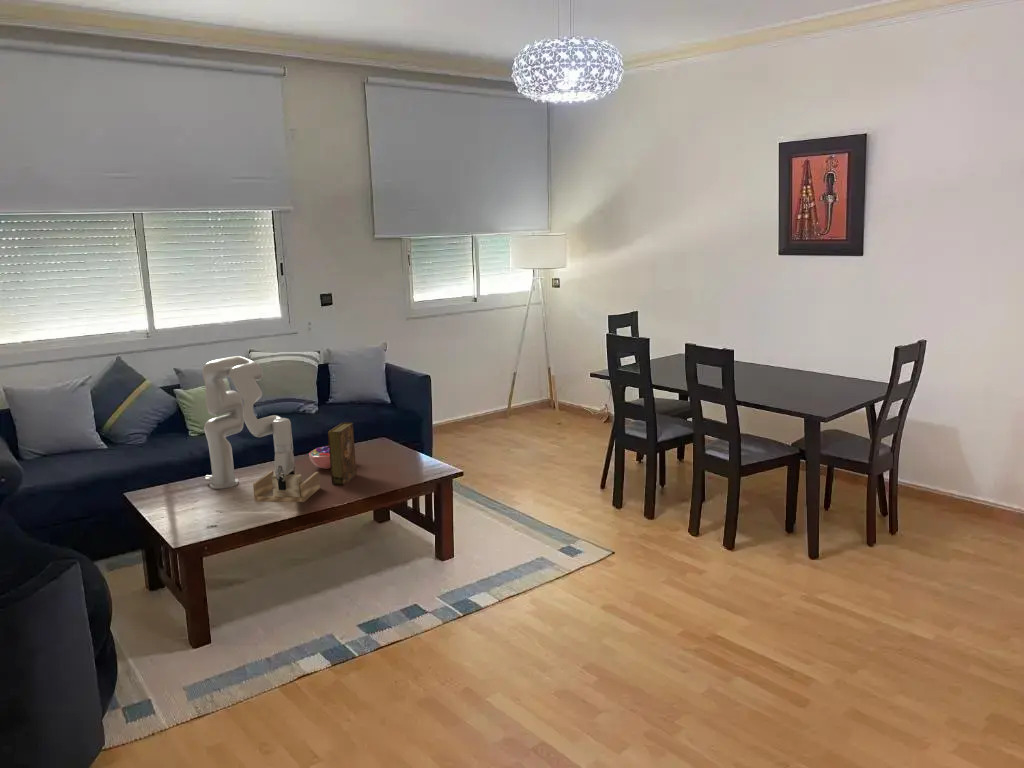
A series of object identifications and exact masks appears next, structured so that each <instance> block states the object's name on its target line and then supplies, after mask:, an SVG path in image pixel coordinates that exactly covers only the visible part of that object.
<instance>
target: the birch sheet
mask: <svg viewBox="0 0 1024 768" xmlns="http://www.w3.org/2000/svg"><path fill="white" fill-rule="evenodd" d="M271 477H272V487H273V489H272V494H273V495H272V497H301V488H300V484H302V483H303V482H302V480H303V479H302V474H296V473H295V474H287V475H285V480H284V481H286V490H279V488H278V481H277V477H276V475H275V473H274V475H273V476H271ZM281 477H282V478H283V476H281Z"/></svg>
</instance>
